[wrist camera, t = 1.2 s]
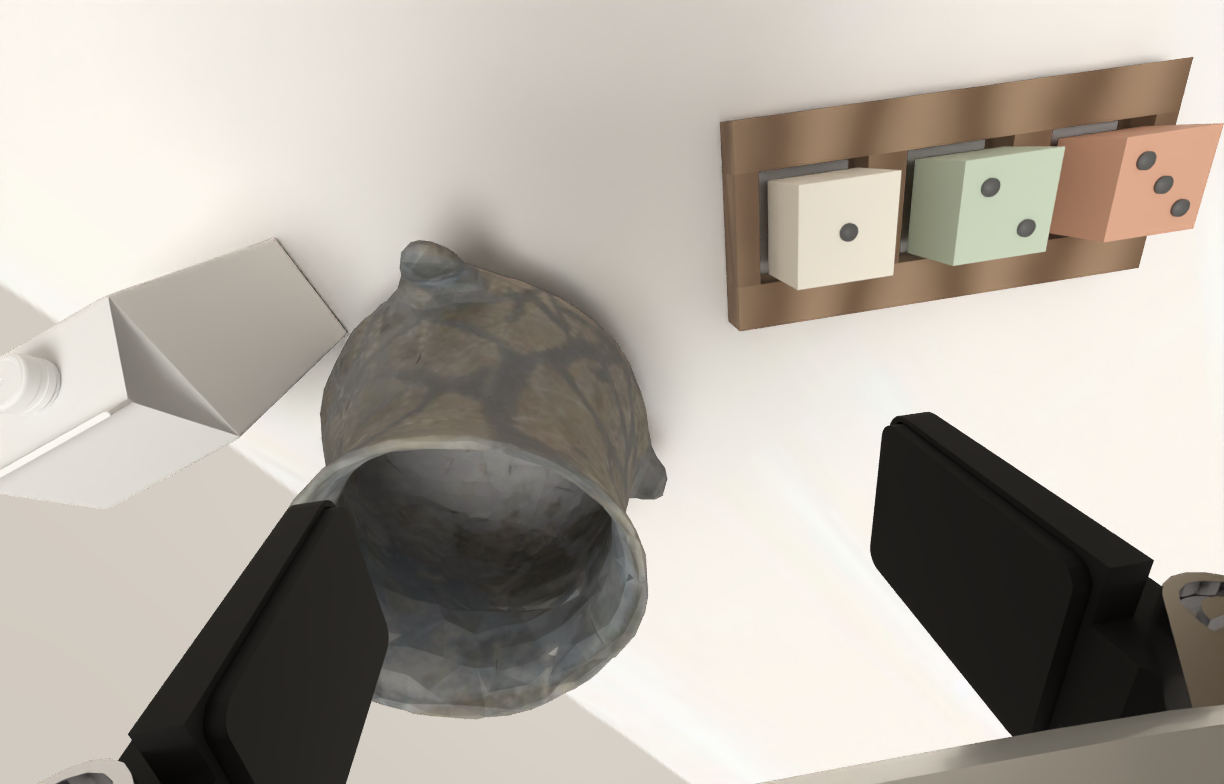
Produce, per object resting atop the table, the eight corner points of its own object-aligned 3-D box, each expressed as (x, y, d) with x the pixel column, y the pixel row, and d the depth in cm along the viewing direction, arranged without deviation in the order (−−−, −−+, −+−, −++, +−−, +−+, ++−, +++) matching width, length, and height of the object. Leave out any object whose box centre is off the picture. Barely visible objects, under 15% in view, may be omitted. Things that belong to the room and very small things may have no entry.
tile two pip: (906, 252, 38) (955, 266, 33) (915, 159, 35) (968, 161, 31) (989, 239, 38) (1048, 252, 33) (1003, 146, 35) (1068, 146, 31)
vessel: (591, 553, 47) (622, 807, 29) (317, 477, 42) (144, 733, 24) (709, 322, 40) (847, 466, 22) (399, 193, 35) (244, 244, 17)
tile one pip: (768, 274, 37) (799, 291, 33) (767, 180, 35) (800, 185, 30) (853, 260, 37) (895, 275, 33) (858, 167, 35) (903, 170, 31)
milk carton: (349, 332, 38) (187, 489, 20) (261, 381, 38) (32, 573, 21) (276, 236, 35) (16, 324, 18) (182, 290, 36) (-159, 427, 18)
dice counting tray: (728, 320, 41) (739, 331, 38) (720, 122, 35) (732, 120, 33) (1106, 261, 42) (1138, 267, 40) (1152, 62, 37) (1193, 57, 35)
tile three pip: (1041, 231, 38) (1106, 242, 34) (1058, 138, 36) (1130, 137, 31) (1121, 219, 38) (1196, 228, 34) (1144, 126, 36) (1227, 123, 32)
